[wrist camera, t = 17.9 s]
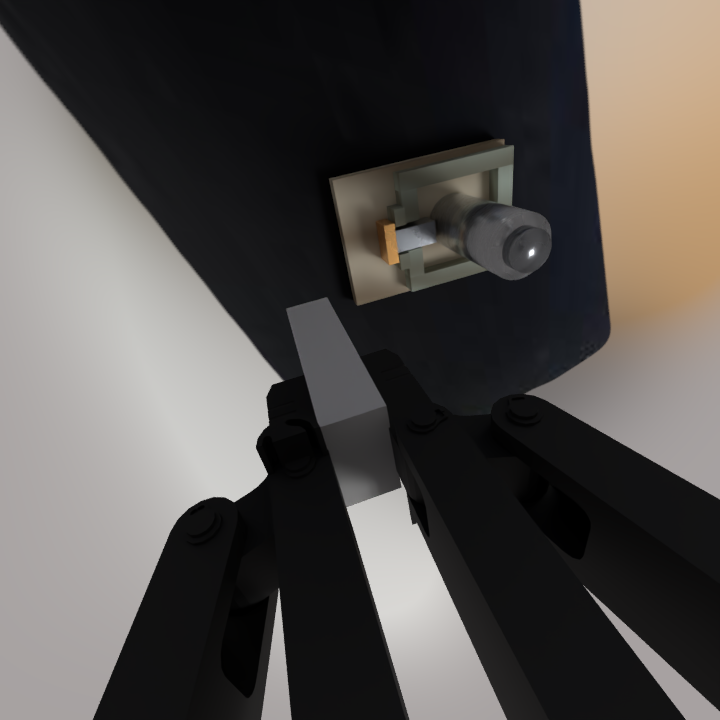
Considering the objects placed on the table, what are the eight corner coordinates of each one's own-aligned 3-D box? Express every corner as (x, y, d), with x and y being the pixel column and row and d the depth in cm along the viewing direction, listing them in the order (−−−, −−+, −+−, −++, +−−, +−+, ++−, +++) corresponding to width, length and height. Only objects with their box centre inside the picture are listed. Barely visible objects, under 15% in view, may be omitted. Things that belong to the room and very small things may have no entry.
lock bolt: (375, 220, 35) (383, 226, 33) (425, 208, 36) (436, 212, 34) (381, 258, 37) (389, 265, 35) (428, 245, 38) (438, 251, 36)
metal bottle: (426, 199, 36) (501, 224, 26) (475, 187, 36) (566, 207, 26) (430, 251, 39) (499, 292, 28) (475, 239, 39) (558, 275, 29)
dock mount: (328, 178, 34) (337, 182, 31) (495, 138, 36) (517, 139, 33) (353, 300, 41) (362, 313, 38) (493, 260, 43) (512, 269, 40)
